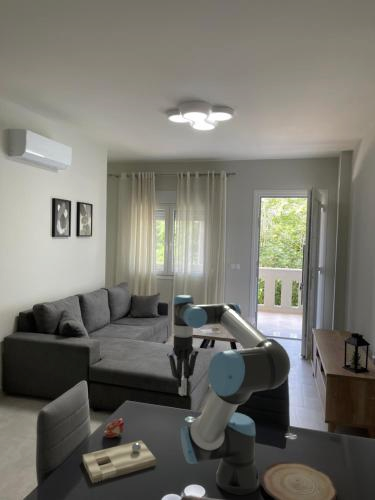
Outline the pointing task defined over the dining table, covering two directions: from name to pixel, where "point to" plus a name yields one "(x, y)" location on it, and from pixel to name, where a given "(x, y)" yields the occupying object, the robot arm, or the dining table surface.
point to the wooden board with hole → (117, 461)
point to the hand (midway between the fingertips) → (182, 394)
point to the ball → (136, 447)
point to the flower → (114, 428)
